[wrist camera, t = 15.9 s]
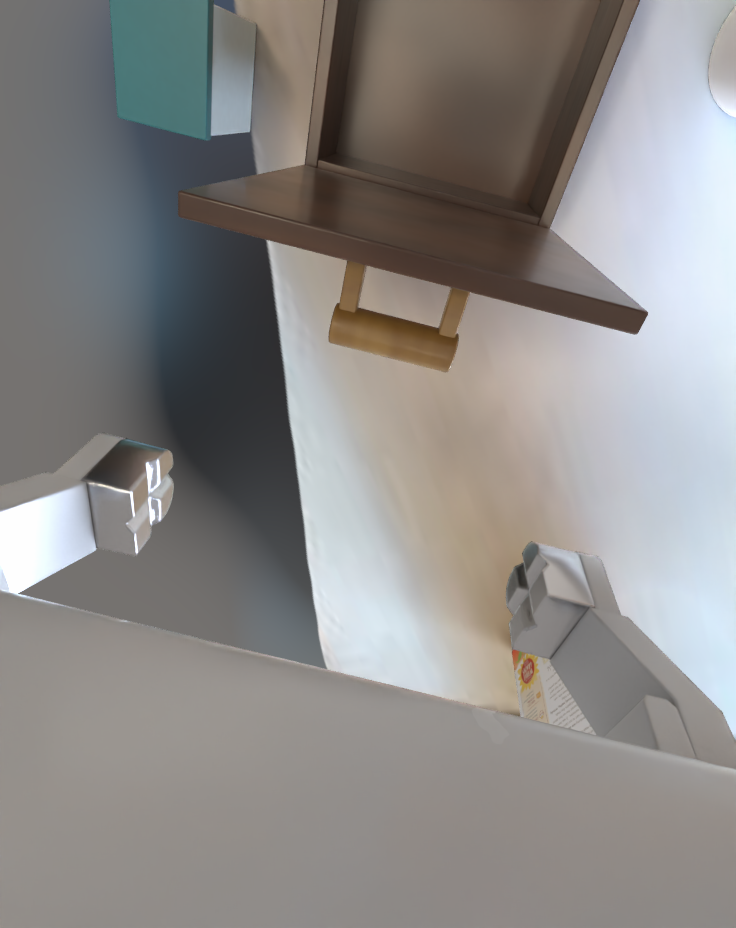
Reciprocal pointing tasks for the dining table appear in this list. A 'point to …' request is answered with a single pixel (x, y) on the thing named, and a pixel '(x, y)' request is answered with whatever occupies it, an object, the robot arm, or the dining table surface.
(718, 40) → the cylindrical container
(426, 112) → the chest
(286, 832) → the robot arm
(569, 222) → the dining table surface
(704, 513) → the dining table surface
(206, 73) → the white teal-lidded container
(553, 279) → the lid
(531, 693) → the cracker box
